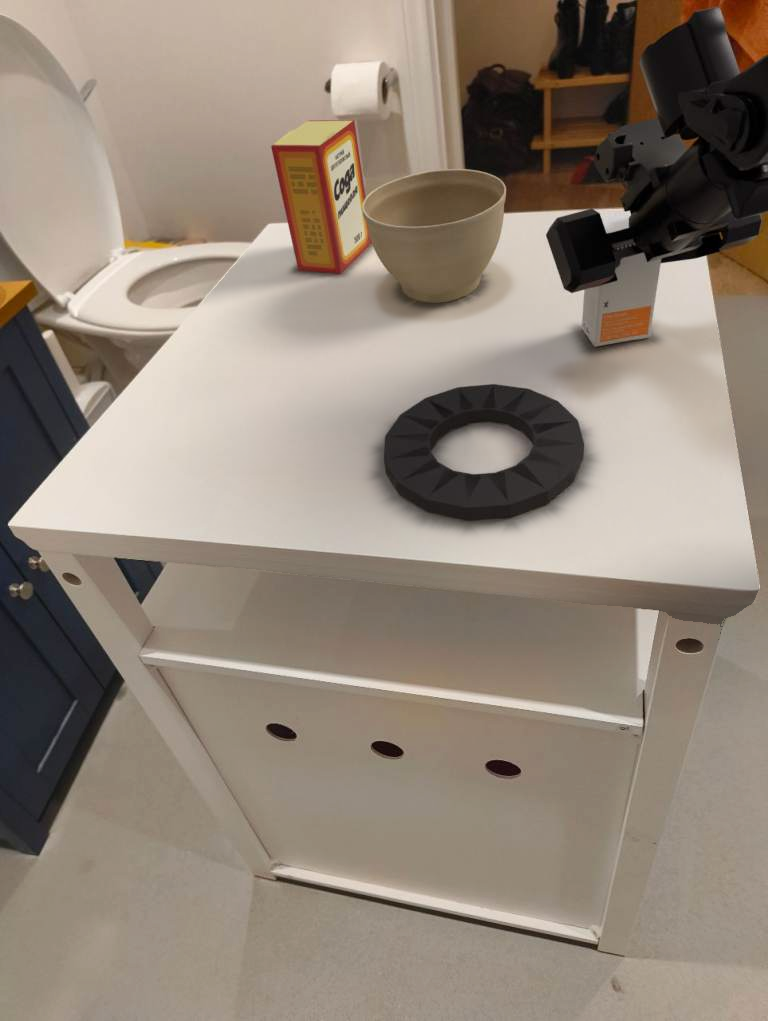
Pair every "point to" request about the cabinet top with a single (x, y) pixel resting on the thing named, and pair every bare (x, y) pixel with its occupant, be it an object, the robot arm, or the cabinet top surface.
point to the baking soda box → (323, 194)
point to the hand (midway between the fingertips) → (614, 268)
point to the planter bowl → (436, 230)
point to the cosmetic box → (622, 296)
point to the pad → (488, 492)
